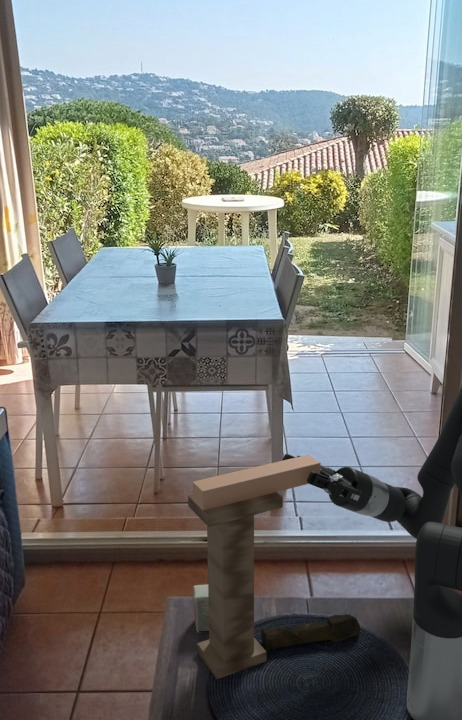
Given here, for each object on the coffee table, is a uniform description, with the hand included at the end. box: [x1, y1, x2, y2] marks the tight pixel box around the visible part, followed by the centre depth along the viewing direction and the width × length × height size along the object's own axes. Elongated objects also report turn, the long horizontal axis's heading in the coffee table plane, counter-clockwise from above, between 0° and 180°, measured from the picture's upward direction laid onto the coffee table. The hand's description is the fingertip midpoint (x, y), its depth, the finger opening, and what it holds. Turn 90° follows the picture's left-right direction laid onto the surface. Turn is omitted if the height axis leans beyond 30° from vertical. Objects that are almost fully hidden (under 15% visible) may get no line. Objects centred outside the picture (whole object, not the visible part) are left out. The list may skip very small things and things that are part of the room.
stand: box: [187, 492, 284, 680], centre depth 129 cm, size 14×8×32 cm, turn 118°
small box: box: [193, 583, 209, 632], centre depth 141 cm, size 5×4×8 cm
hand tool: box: [260, 613, 361, 653], centre depth 136 cm, size 19×4×5 cm, turn 99°
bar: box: [191, 454, 322, 511], centre depth 126 cm, size 23×4×4 cm, turn 118°
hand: (296, 467), depth 129 cm, fingers open, 8 cm apart
